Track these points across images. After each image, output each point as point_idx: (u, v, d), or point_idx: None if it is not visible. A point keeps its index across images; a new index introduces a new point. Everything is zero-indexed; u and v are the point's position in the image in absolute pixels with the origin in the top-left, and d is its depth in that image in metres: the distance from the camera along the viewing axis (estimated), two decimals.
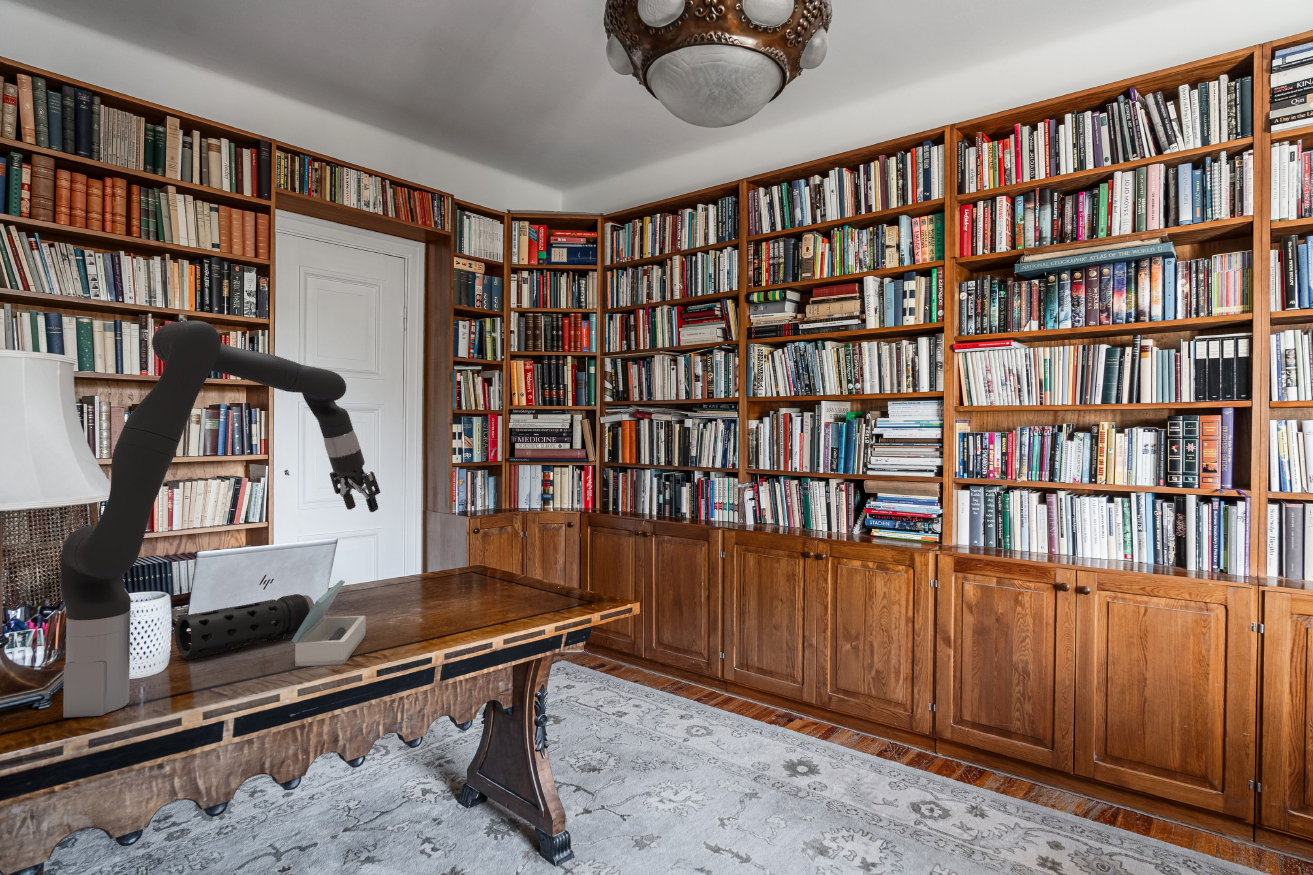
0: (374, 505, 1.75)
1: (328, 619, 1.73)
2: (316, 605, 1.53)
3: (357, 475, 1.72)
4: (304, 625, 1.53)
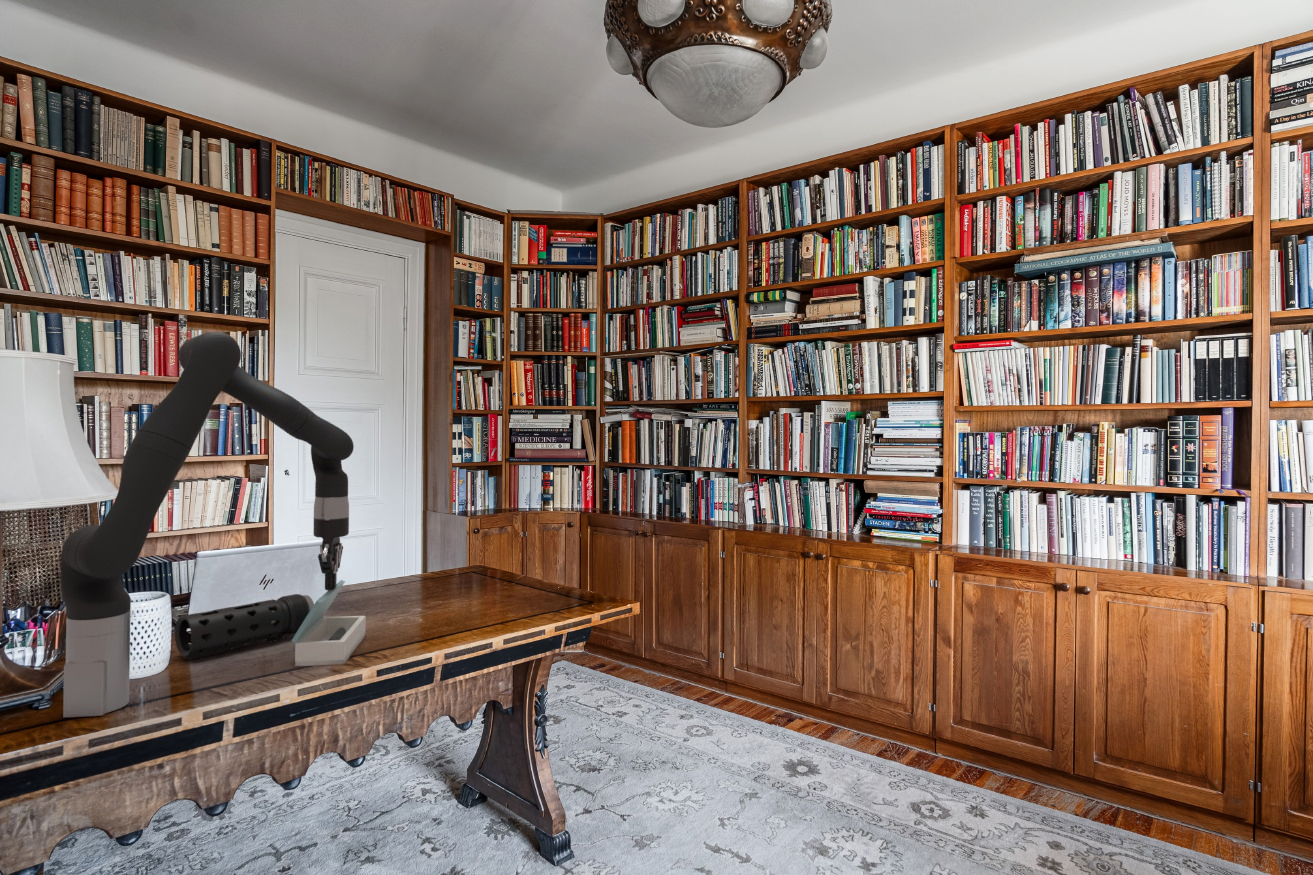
0: (328, 583, 1.63)
1: (328, 619, 1.73)
2: (316, 605, 1.53)
3: (321, 546, 1.60)
4: (304, 625, 1.53)
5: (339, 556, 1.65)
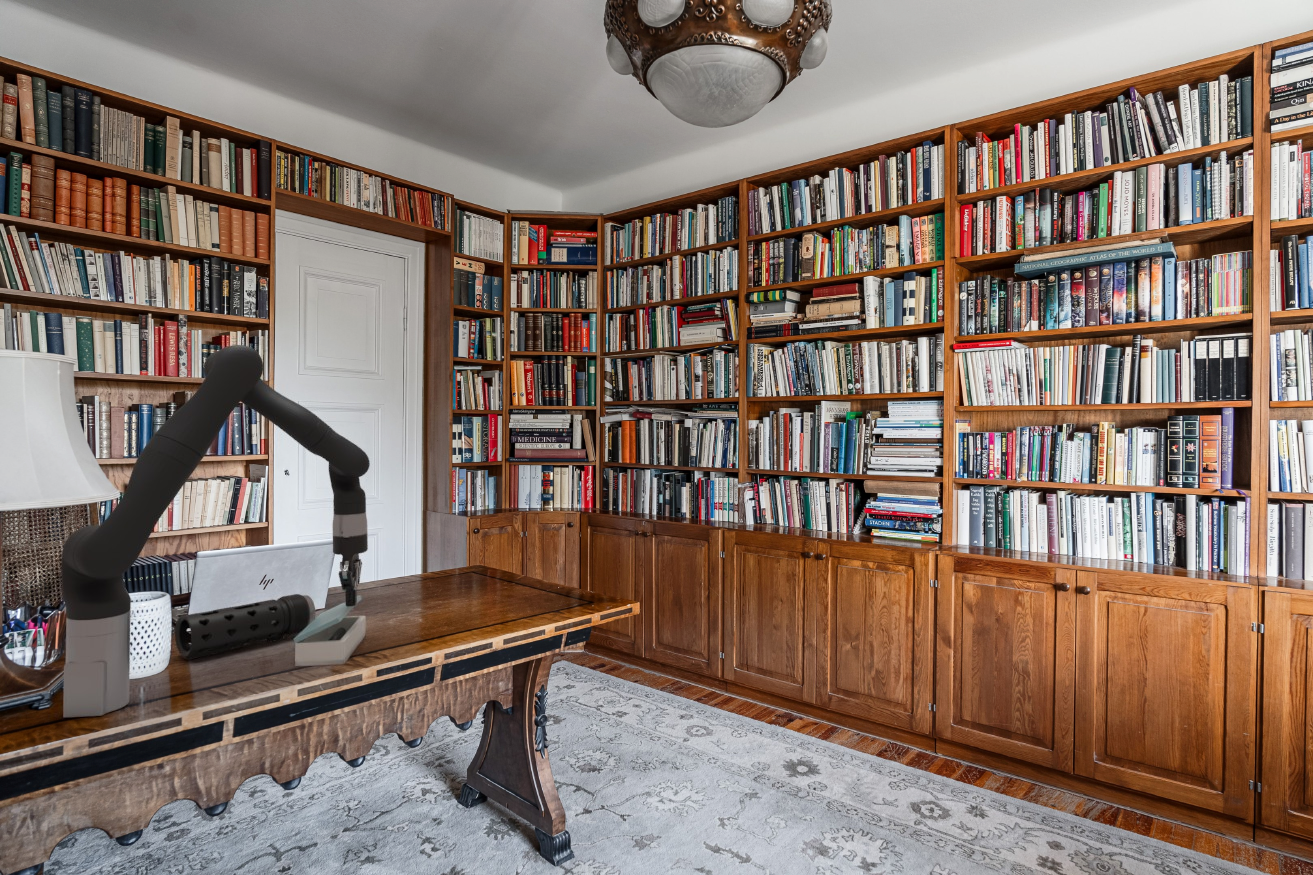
0: (348, 599, 1.64)
1: None
2: (334, 621, 1.54)
3: (341, 563, 1.61)
4: (313, 632, 1.53)
5: (359, 572, 1.66)
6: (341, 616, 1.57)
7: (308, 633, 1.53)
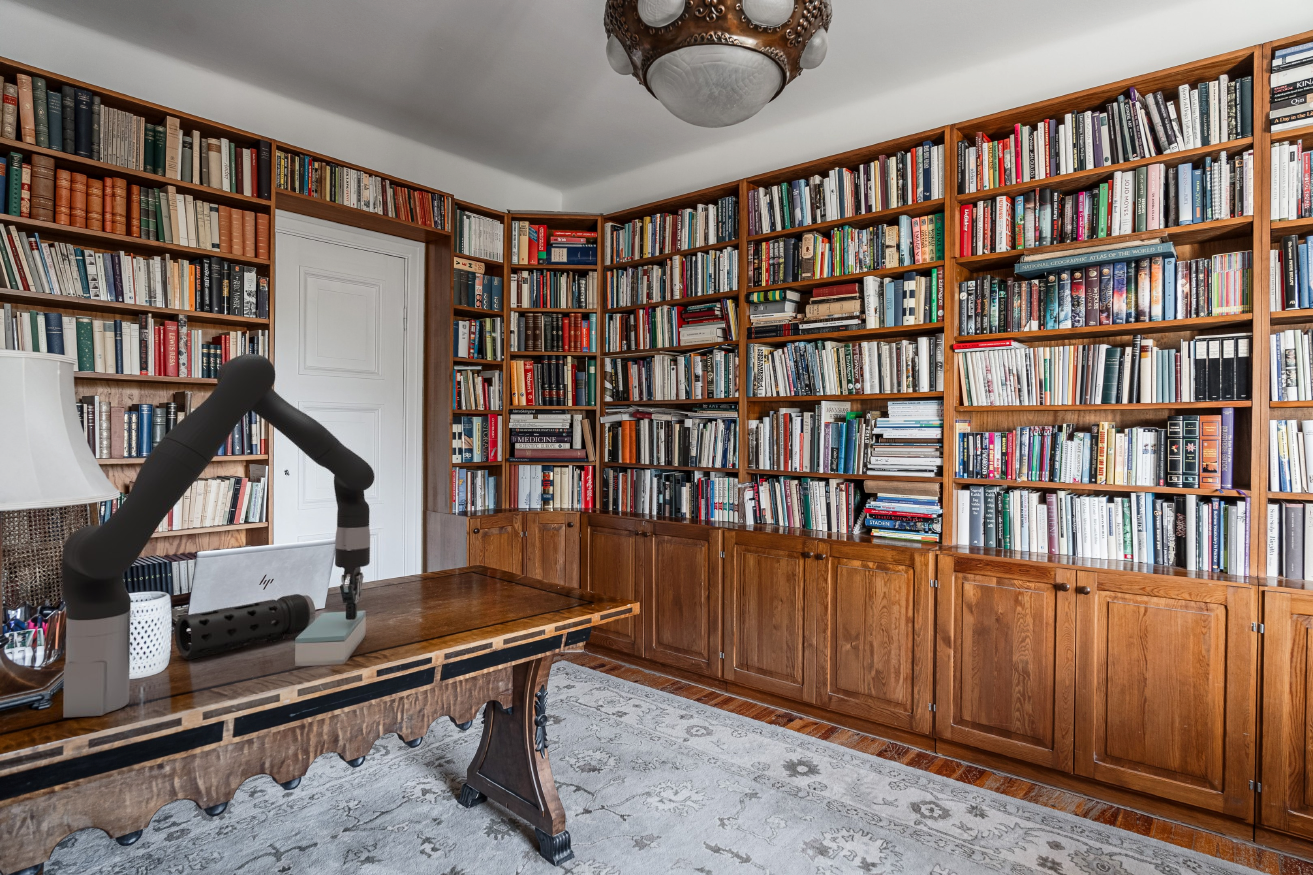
0: (349, 613, 1.64)
1: None
2: (339, 638, 1.54)
3: (343, 576, 1.61)
4: (315, 640, 1.53)
5: (360, 585, 1.66)
6: (347, 634, 1.57)
7: (311, 639, 1.53)
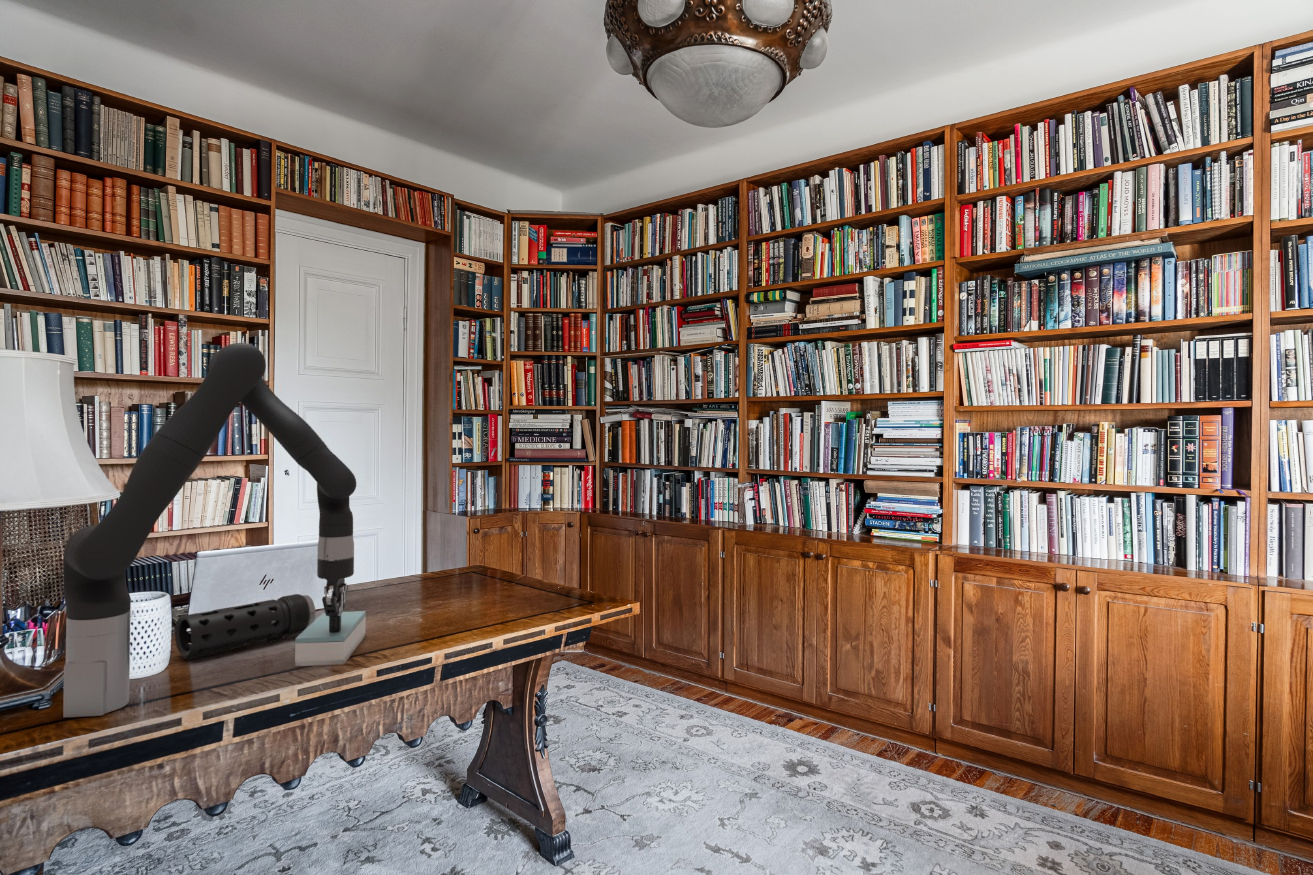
0: (332, 626, 1.57)
1: None
2: (339, 638, 1.54)
3: (326, 588, 1.54)
4: (315, 640, 1.53)
5: (344, 597, 1.59)
6: (347, 634, 1.57)
7: (311, 639, 1.53)
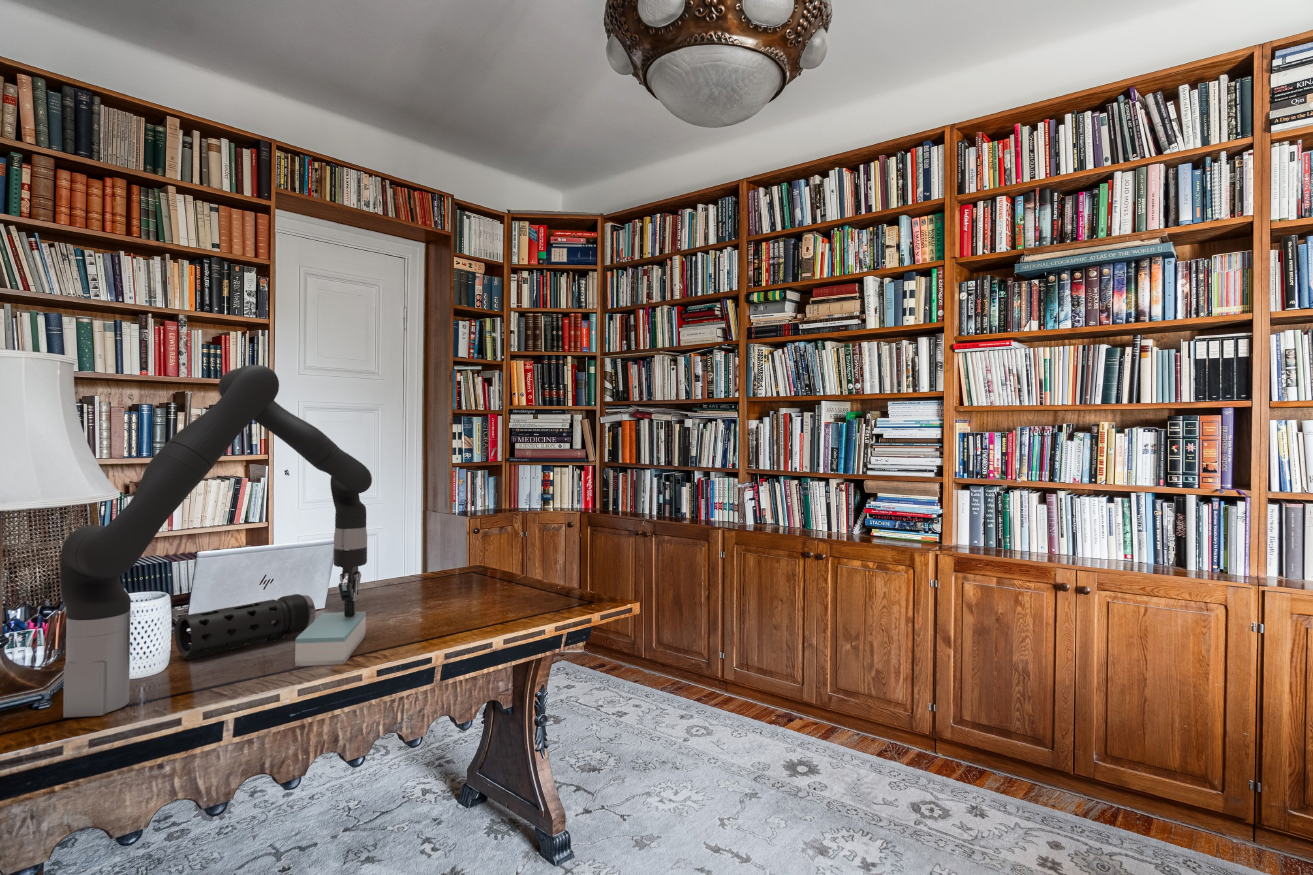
0: (347, 610, 1.70)
1: None
2: (339, 639, 1.54)
3: (341, 575, 1.68)
4: (316, 640, 1.53)
5: (358, 584, 1.73)
6: (347, 635, 1.57)
7: (311, 639, 1.53)
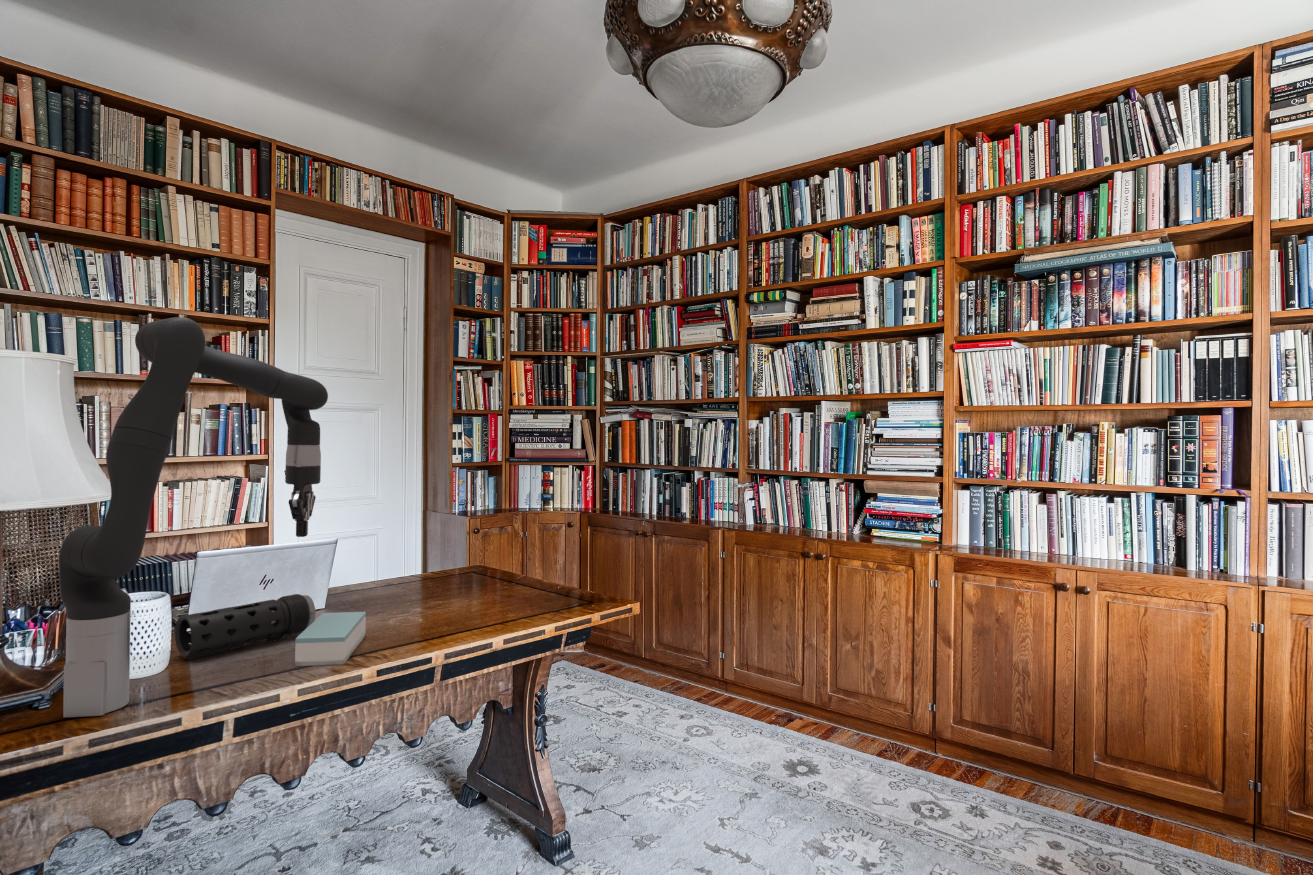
0: (299, 530, 1.66)
1: None
2: (339, 639, 1.54)
3: (292, 492, 1.63)
4: (316, 640, 1.53)
5: (311, 504, 1.68)
6: (347, 635, 1.57)
7: (311, 639, 1.53)
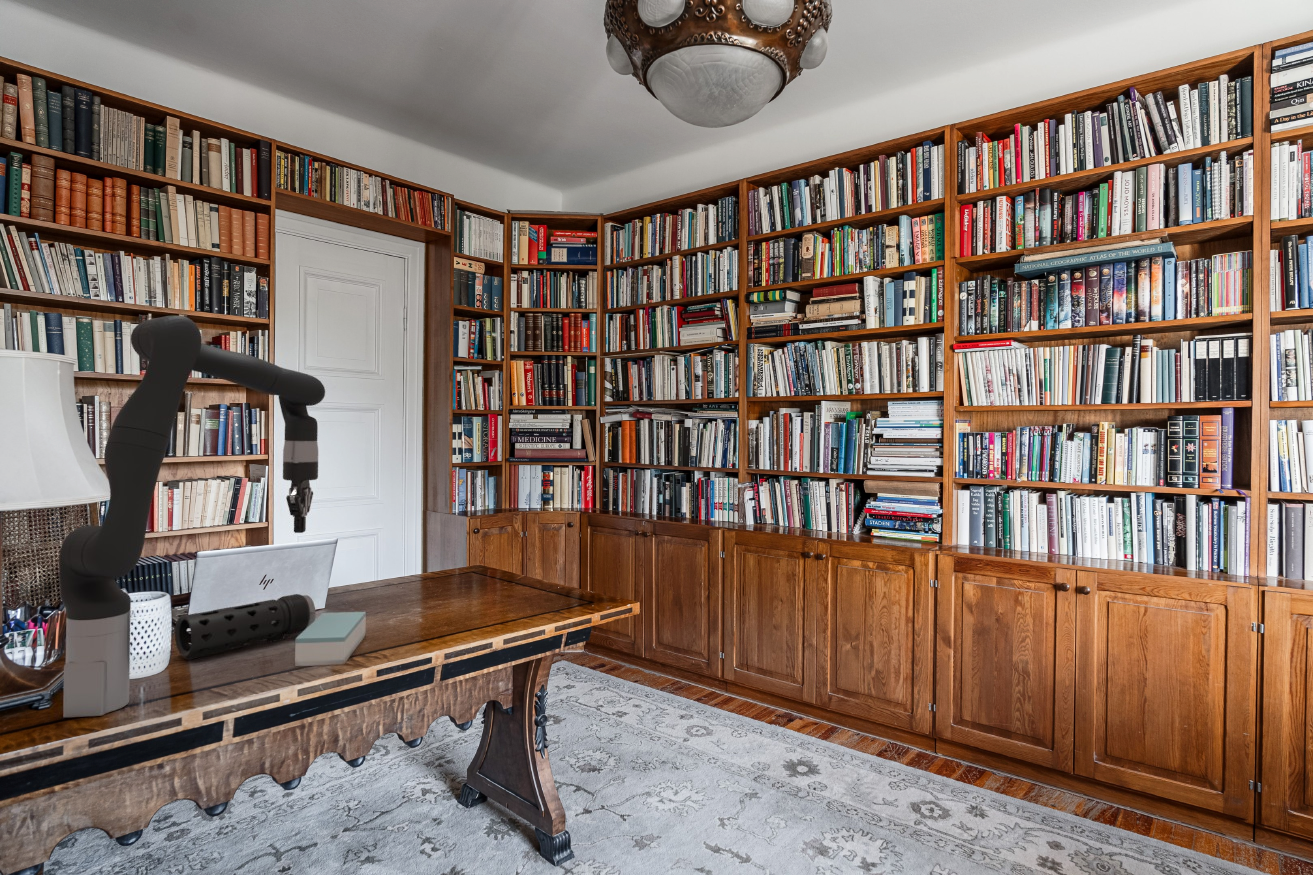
0: (297, 526, 1.66)
1: None
2: (339, 639, 1.54)
3: (290, 488, 1.63)
4: (316, 640, 1.53)
5: (308, 500, 1.68)
6: (347, 635, 1.57)
7: (311, 639, 1.53)
